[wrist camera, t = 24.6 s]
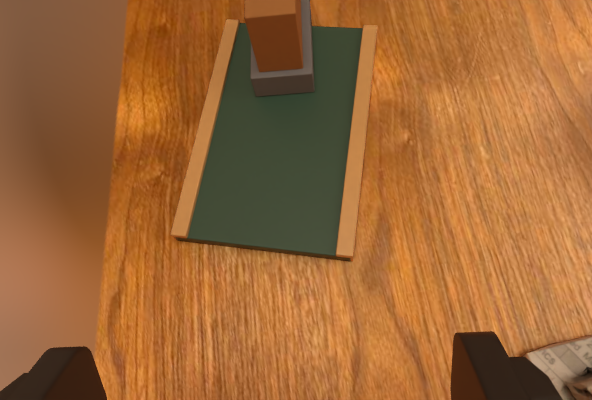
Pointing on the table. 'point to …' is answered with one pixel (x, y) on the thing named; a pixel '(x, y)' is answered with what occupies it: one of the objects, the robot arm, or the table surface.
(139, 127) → the table surface
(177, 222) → the chalkboard
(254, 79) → the eraser
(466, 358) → the robot arm
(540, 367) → the packaged product
